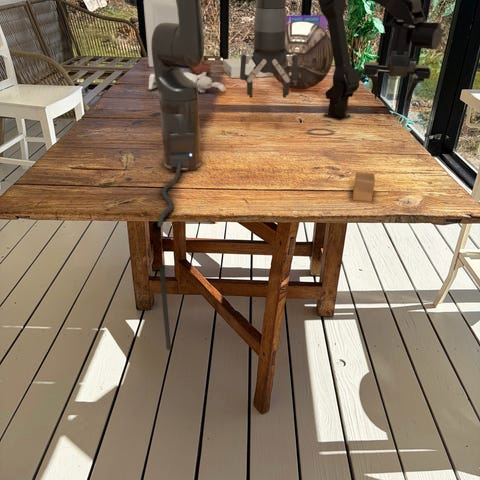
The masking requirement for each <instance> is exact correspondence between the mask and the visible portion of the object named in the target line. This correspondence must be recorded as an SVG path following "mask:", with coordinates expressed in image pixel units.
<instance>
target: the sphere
mask: <svg viewBox="0 0 480 480" xmlns="http://www.w3.org/2000/svg"><path fill="white" fill-rule="evenodd" d="M293 53H295V54H296V55H297V80H293V81H291V82H290V83H289V89H291V90H297V91H302V90H308V89H311V88H314V87H315V86H317V85H318V84H320V83H321V82H322V81H323V80H324V79H325V78H326V77H327V76H328V74H329V72H330V70H331V68H332V65H333V62H334V57H333V51H332V45H331V39H330V35H329V34H328V33H327V30H326V31H325V30H324V29H323V28H321V27H320V26H319V25H317V24H315V23H313V22H309V21H296V22H292V23H290V24H288V25H286V36H285V54H286V55H291V54H293ZM282 67H283V69H284V70H285V72H286V73H287V75H291V74H292V64H290V63H289V60H287V59H286V61H285V62H284V64H283V65H282ZM273 75H274V76H273V77H274V78H275V79H276V80H277V81H278V83H280V84H281V85H283V81H284V79H283V77H282V76H281V75H280V73H279V72H278V71H277V72H275V73H273Z"/></svg>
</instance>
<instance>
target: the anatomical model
mask: <svg viewBox="0 0 480 480" xmlns="http://www.w3.org/2000/svg"><path fill="white" fill-rule="evenodd" d="M211 67H212V66H211V62H210V60H209V59H208V57H207V56H206V55H203V59H202V62H201V64H200V65H199V66H198V67H197V68H195V69H190V70H191V71H192V72H193V73H192V74H195V75H197V76H198V75H200V74H204V73H203V72H206V76H207V75H209V74H210V72H211Z"/></svg>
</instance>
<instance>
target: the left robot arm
mask: <svg viewBox="0 0 480 480" xmlns="http://www.w3.org/2000/svg"><path fill="white" fill-rule="evenodd" d="M201 3H202V2H201V0H176V4H177V10H178V19H179V23H168V22H164V23H160V24H158V25H157V26H156V27H155V29H154V31H153V34H152V41H151V49H152V59H153V67H152V68H153V74H155V82H156V86H157V87H156V88H157V90H158V96H159V111H160V123H161V124H160V125H161V138H162V139H161V140H162V151H163V166H164V167H165V168H166V169H168V170H170V171H171V172H175V175H174V176H173V179H172V180H171V181H170V182H169V183H168V184H166V185H164V187H163V188H162V190H161V195H162V197H163V199H164V200H165V202H166V203H167V205H168V207H167V208H166V209H163V211H162V212H161V213H160V214H159V217H158V220H157V227H159V228H160V227H163V225H164V221H165V219H166V216H167V215H169V214H170V213H172V211H173V210H174V202H173V200H172V199H171V197H170V196H169V195H168V193H167V192H168V190H170V188H172V187H174V186H175V184H176V183H178V181H179V178H180V175H181V172H187V171H197V168H199V167H200V166H201V165H202V162H201V142H200V113H199V110H200V108H199V91H198V86H197V84H196V83H195V82H193V81H192V80H190V79H189V78H187V77H186V76H185V75H184V74H183V73H184V72H183V70H182V69H187V70H191V69H195V68H197V67H198V66H199V65H200V64H201V62H202V59H203V56H205V55H204V53H205V32H204V22H203V14H202V13H203V12H202V4H201ZM286 16H287V0H255V12H254V20H253V21H254V23H253V53H252V54H248V53H246V52H242V53H241V55H240V59H241V67H240V78H239V79H240V80H241V81H245V82H246V95H247V96H249V98H253V90H254V89H253V83H254V81H253V80H254V79H255V78H256V77H255V76H257V74H258V73H259V72H262V73H268V72H270V73H275V72H277V71H278V72H279V73H280V75H281V76H282V77H283V79H284V81H283V84H282V98H284V99H285V98H287V96H289V94H290V88H289V83H290V82H291V81H293V80H297V55H296V54H295V53H293V54H291V55H286V54H285V36H286ZM251 59H252V61H253V62H254V63H255V67H254V68H253V69H252V71H251V72H250V74H249V75H246V74H245V67H246V64H248V63H249V60H251ZM286 59H287V60H289V63H290V64H292V74H291V75H287V73H286V72H285V70H284V69H283V67H282V65H283V64H284V62H285V61H286ZM165 266H166V265H165V264H162V265H161V264H160V265H159V278H160V291H161V292H160V293H161V302H162V303H161V304H162V313H163V325H164V335H165V347H166V350H167V351H170V350H172V345H171V332H170V331H171V330H170V321H169V309H168V300H167V299H168V297H167V284H166V269H165V268H166V267H165Z"/></svg>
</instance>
